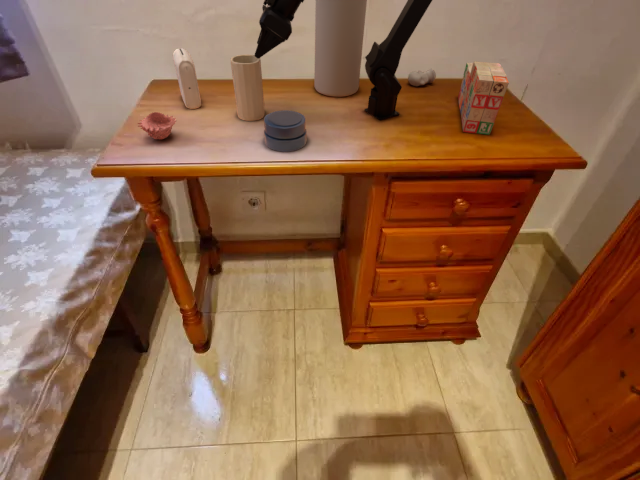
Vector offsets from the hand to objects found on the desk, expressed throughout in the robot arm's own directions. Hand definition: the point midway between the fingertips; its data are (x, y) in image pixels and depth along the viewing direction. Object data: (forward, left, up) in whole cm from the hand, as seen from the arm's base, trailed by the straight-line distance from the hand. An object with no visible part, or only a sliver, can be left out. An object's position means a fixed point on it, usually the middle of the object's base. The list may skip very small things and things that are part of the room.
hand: (257, 50), depth 83 cm
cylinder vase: (-25, -5, -15) cm, 30 cm away
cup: (+3, -1, -15) cm, 15 cm away
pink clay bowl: (+25, 0, -15) cm, 29 cm away
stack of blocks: (-46, +26, -15) cm, 55 cm away
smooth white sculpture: (-49, +4, -15) cm, 52 cm away
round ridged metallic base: (+2, +15, -15) cm, 21 cm away
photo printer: (+13, -16, -15) cm, 25 cm away
